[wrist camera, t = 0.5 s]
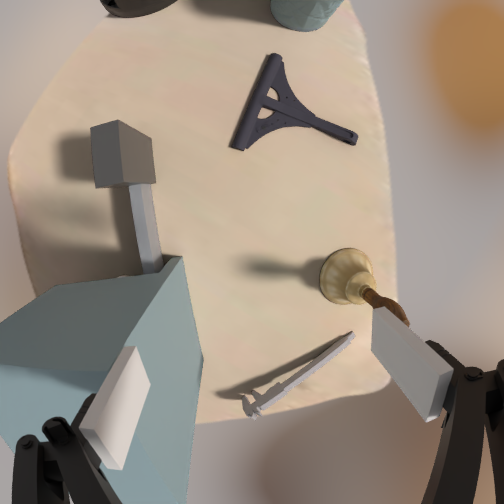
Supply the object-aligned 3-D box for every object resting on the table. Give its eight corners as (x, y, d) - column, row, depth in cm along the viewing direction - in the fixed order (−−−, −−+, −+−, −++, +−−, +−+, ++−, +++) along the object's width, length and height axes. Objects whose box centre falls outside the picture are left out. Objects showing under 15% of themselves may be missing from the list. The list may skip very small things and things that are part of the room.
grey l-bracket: (130, 143, 35) (90, 127, 23) (151, 138, 35) (118, 119, 23) (152, 289, 39) (125, 327, 27) (173, 286, 39) (152, 325, 28)
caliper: (245, 399, 44) (247, 425, 38) (241, 395, 44) (243, 421, 38) (354, 334, 43) (370, 354, 37) (351, 329, 43) (367, 349, 37)
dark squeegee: (335, 189, 38) (342, 189, 36) (231, 147, 36) (231, 144, 34) (366, 100, 36) (374, 95, 33) (269, 56, 34) (272, 48, 31)
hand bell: (379, 255, 40) (446, 291, 25) (361, 307, 42) (416, 363, 26) (328, 241, 39) (384, 276, 24) (311, 298, 41) (352, 358, 25)
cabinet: (74, 270, 38) (-49, 355, 12) (182, 256, 38) (107, 371, 13) (104, 364, 41) (34, 483, 16) (203, 359, 42) (185, 512, 17)
